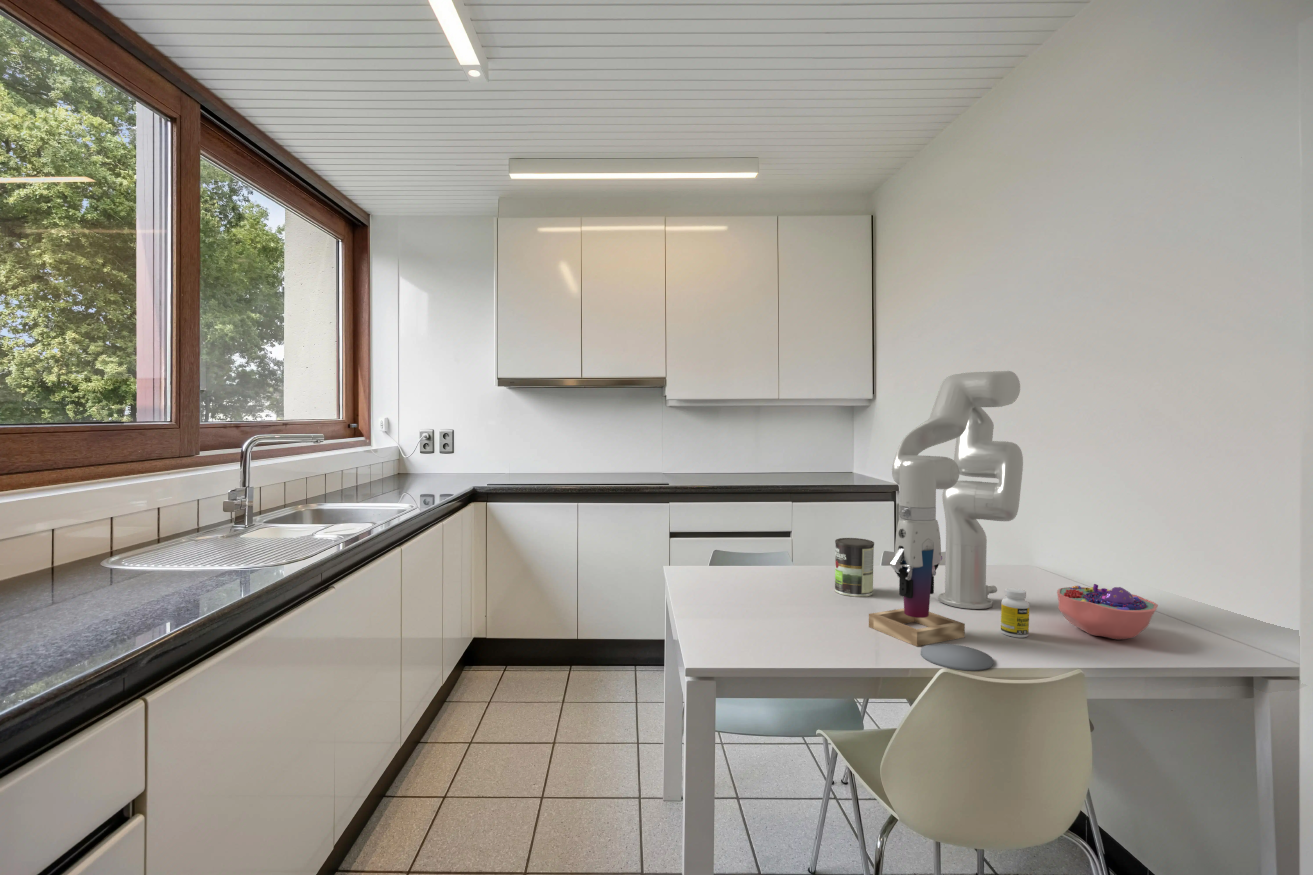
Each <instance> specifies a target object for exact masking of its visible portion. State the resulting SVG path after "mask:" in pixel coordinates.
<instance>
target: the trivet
mask: <svg viewBox="0 0 1313 875" xmlns="http://www.w3.org/2000/svg"><path fill="white" fill-rule="evenodd" d="M920 656H921V657H922V658H923V659H924V660H926V661H928V662H930V663H931V664H934V665H937V666H940V667H943V668H947V669H953V670H958V671H967V672H968V671H971V672H973V671H984V670H985V671H986V670H988V669H991V667H993V665H994V659H993V658H992V656H991V655H990V654H988V653H986V652H984V651H982V650H980V649H976V648H973V647H969V646H967V645H960V644H953V643H932V644H927V645H923V646H922V647H921V648H920Z"/></svg>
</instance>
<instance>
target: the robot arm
mask: <svg viewBox="0 0 1313 875" xmlns="http://www.w3.org/2000/svg"><path fill="white" fill-rule="evenodd" d="M940 384H941V385H940V387H939V390H938V393H937V396H936V397H935V400H934V404H933V407H932V409H931V412H930V416H929V417H928V419H927V420H925V421H924V422H922V423H920V424H918V426H916V427H915V428H914V429H912V430H911V431H910V432H909V433H907V434H906V435H905V437H903V439H902V440H901V441H900V442H899V445H898V448H897V450H896V453H895V456H894V458H893V462H892V467H891V476H892V478H893V481H894V482H895V483H896V484H897V485H898V486H899V492H898V493H899V498H898V499H899V502H898V504H899V505H898V506H899V507H898V508H899V509H898V510H899V511H898V518H899V520H898V522H897V527H896V532H895V542H894V543H895V544H894V557H893V559H892V560H891V561H890V563H889V564H890V567H891V568H892V569H893V570H894V572H895V574H896V576H897V578H899V580H898V581H899V582H898V583H899V585H898V588H899V589H898V590H899V596H900V597H903V596H904V597H907V598H913V580H910V579H911V576H912V573H913V568H920V567H922V566H923V561H922V551H927V550H932V549H934V551H933V563H932V577H931V591H930V595H933V594H934V593H935V576H936V575H937V569H938V568H939V564H940V563H941V561H942V560H943V555H942V542H941V532H940V526H939V521H938V520H937V518H936V517H937V516H936V514H937V507H936V506H937V501H936V500H937V490H942V494H941V496H942V505H943V512H944V518H945V565H944V566H945V569H944V570H945V571H944V573H945V574H944V576H945V577H944V584H945V585H944V592H941V593H939V594H938V601H939V602H940V603H942V604H945V605H947V606H951V607H955V608H961V609H969V610H983V609H984V610H985V609H990V608H992V607H993V599H990V598H989V597H988V596H989V595H990V594H996V593H997V592H998V587H997V586H996V585H987V542H988V541H987V535H986V531H985V530H984V528H983V527H982V525H981V524H980V523H979V521H978V520H984V521H993V522H994V521H996V522H1010V521H1013V520H1014V519H1016V516H1017V515H1018V512H1019V507H1020V502H1021V501H1020V499H1021V490H1022V480H1023V471H1024V469H1023V468H1024V456H1023V455H1024V454H1023V451H1022V449H1021V447H1020V446H1019V445H1018V444H1016V443H1015V442H1012V441H1007V440H1006V441H1005V440H1004V441H1003V440H1002V441H1001V440H999V441H998V440H993V437H994V436H993V435H994V428H995V427H994V422H993V420H992V418H991V417H990V415H989V414H988V413H987V412H986V410H984V409H983V408H999V407H1001V408H1002V407H1006V406H1009V405H1012V404H1013V403H1014V402H1015V403H1016V401H1017V399H1018V398H1019V395H1020V392H1021V381H1020V379H1019V377H1018V375H1017V374H1016V373H1015V372H1014V371H1012V370H998V371H996V370H995V371H973V372H971V371H970V372H962V373H955V374H951V375H949V376H946V378H944V379H943V381H942V382H941V383H940ZM952 440H955V447H954V453H953V454H954V456H953V459H952V458H950V457H948V456H940V455H939V456H938V455H937V456H936V455H919V454H920V453H922V452H924V451H925V450H927V449H929V448H931V447H935V446H936V445H937V446H938V445H941V444H944V443H947V442H949V441H952ZM960 476H964V477H970V478H971V477H972V478H981V479H982V478H984V479H998V482H989V481H987V482H986V481H977V480H959V478H960ZM904 560H905V561H906V563H907V565H906V564H904ZM904 567H906V568H908V569H907V573H906V571H905V570H904ZM904 597H903V598H904Z"/></svg>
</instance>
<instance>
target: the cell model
mask: <svg viewBox="0 0 1313 875" xmlns="http://www.w3.org/2000/svg"><path fill="white" fill-rule="evenodd" d="M1056 594H1057V601H1058V606H1057V608H1058V611H1059V612H1060V613H1061V614H1062V616H1064V618H1065V619H1066V621H1067V622H1069V623H1070V624H1071V625H1073V626H1074V627H1076V628H1078V629H1079V630H1082V631H1083V632H1085V633H1087V634H1089V635H1092V636H1095V637H1104V638H1107V639H1110V640H1120V641H1121V640H1127V639H1133V638H1135V637H1136V636H1138V635H1139V634H1140V633H1142V632H1143V631H1144V630H1146V629H1147V628H1148V626H1149V625H1150V624H1151V622H1152V619H1153V617H1154V616H1153V615H1154V614H1155V612H1156V611H1157V608H1158V607H1159V604H1158V603H1156V602H1154V601H1152V600H1149V599H1146V598H1144V597H1143V596H1139V595H1137V594H1132V593H1131V592H1130V591H1128V590H1126V589H1125V588H1123V587H1121V586H1115V587H1111V589H1108V588H1105V587H1103V588H1099V584H1096V583H1094V584H1093V586H1091V587H1085V586H1084V587H1082V586H1081V585H1074V586H1071V587H1070V586H1069V587H1067V586H1066V587H1060V588H1058V589H1057V591H1056Z"/></svg>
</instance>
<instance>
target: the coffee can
mask: <svg viewBox="0 0 1313 875" xmlns="http://www.w3.org/2000/svg"><path fill="white" fill-rule="evenodd" d="M834 543H835V560H834V561H835V563H834V564H835V565H834V569H835V570H834V572H835V573H834V591H835V593H837V594H839V595H843V596H846V597H855V598H866V597H870V596H872V595H873V596H874V558H875V557H874V556H875V555H874V553H875V552H874V551H875V550H874V548H875V542H874V540H870V539H866V538H859V537H858V538H857V537H841V538H836V539H835V540H834Z"/></svg>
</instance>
